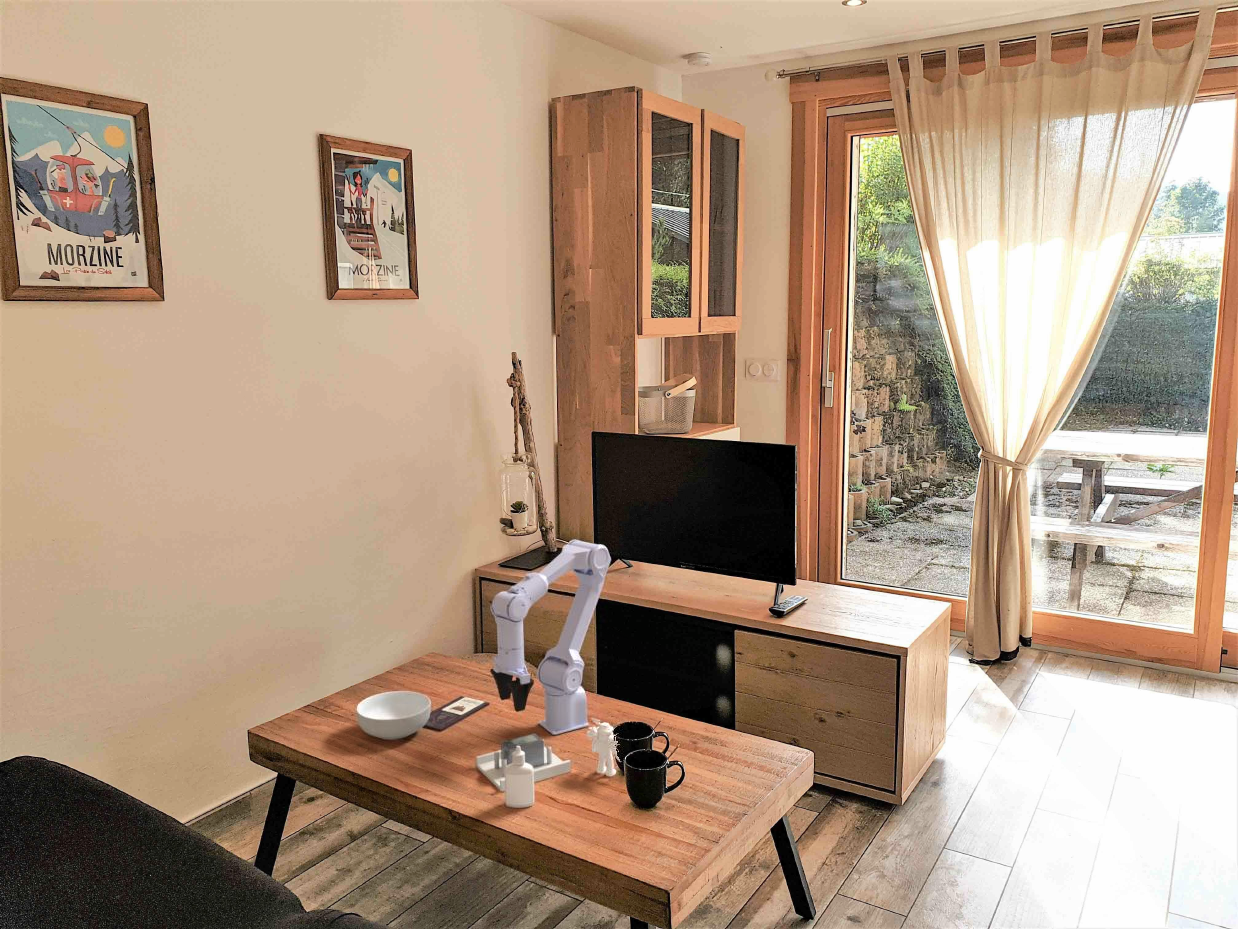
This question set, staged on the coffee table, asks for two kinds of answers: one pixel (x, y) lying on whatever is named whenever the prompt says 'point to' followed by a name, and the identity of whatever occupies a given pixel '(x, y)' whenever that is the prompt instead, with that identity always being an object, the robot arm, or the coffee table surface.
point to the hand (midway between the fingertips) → (512, 704)
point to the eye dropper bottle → (519, 781)
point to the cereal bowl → (393, 714)
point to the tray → (551, 768)
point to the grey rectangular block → (525, 749)
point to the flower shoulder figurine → (604, 746)
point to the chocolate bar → (453, 713)
